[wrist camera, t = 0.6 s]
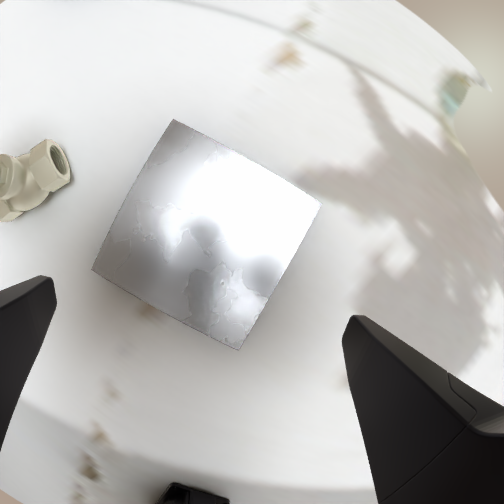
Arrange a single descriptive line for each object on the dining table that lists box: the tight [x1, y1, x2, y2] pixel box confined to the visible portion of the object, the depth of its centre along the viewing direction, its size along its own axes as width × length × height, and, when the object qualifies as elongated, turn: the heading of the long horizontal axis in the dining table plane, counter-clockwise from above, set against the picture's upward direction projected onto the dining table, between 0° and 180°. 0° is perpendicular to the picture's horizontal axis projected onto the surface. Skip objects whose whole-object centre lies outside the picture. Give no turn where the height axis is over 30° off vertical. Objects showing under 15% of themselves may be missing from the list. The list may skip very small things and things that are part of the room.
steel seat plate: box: [92, 119, 322, 351], centre depth 21 cm, size 12×12×1 cm
